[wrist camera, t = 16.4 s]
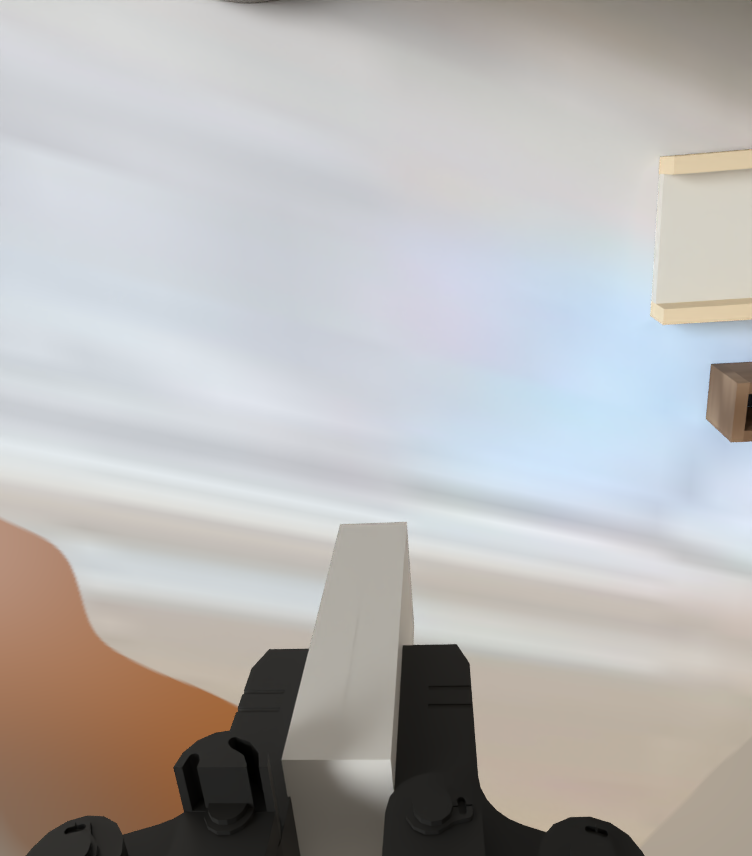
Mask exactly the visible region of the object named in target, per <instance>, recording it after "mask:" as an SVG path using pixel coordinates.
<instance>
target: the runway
mask: <svg viewBox="0 0 752 856" xmlns="http://www.w3.org/2000/svg"><path fill="white" fill-rule="evenodd" d="M650 316H651V317H653V318H654V319H655V320H657V321H658V322H660V323H661V324H663V325H669V324H686V323H702V322H718V321H735V320H751V319H752V149H746V150H734V151H723V152H711V153H699V154H687V155H675V156H663V157H660V166H659V182H658V198H657V215H656V231H655V247H654V264H653V280H652V296H651V313H650Z"/></svg>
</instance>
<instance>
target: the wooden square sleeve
mask: <svg viewBox="0 0 752 856" xmlns="http://www.w3.org/2000/svg"><path fill="white" fill-rule="evenodd" d="M749 394H752V362H741V363H723V364H711V371H710V381H709V391H708V402H707V412H706V419H707V420H708V421H709V422H710V423H711V424H712V425H713V426H714V427H715V428H716V429H717V430H718V431H719V432H721V433H722V434H723V435H724V436H725V437H726V438H727V439H728V440H729V441H730V442H748V441H752V407H747V404H748V395H749Z"/></svg>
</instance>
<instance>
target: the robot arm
mask: <svg viewBox="0 0 752 856" xmlns="http://www.w3.org/2000/svg"><path fill="white" fill-rule="evenodd" d="M224 1H230V2H242V3H253V2H265V1H271V0H224ZM413 637H414V617H413V603H412V589H411V576H410V562H409V548H408V535H407V522H394V523H366V524H340V527H339V531H338V535H337V539H336V543H335V547H334V551H333V555H332V559H331V563H330V567H329V571H328V575H327V579H326V583H325V587H324V591H323V595H322V599H321V603H320V607H319V611H318V615H317V619H316V623H315V627H314V631H313V635H312V639H311V643H310V647H309V649H269V650H268V651H267V652H266V653H265V655H264V656H263V657H262V658H261V659H260V660H259V661H258V662H257V663H256V664H255V665H254V667H253V668H252V669H251V672H250V675H249V678H248V681H247V683H246V686H245V689H244V694H243V695H242V698H241V700H240V703H239V706H238V712H237V713H236V715H235V718H234V720H233V723H232V726H231V729H230V731H224V732H218V733H214V734H212V735H209V736H207V737H205V738H203V739H200V740H198V741H197V742H195V743H194V744H193V745H192V746H191V747H189V748H188V749H187V750H186V751H185V752H183V753H182V755H181V757H180V758H179V760H178V761H177V763H176V764H175V766H174V772H175V776H176V780H177V784H178V788H179V793H180V797H181V801H182V805H183V809H184V813H182V814H181V815H179V816H177V817H176V818H174V819H172V820H169V821H167V822H164V823H162V824H159V825H155V826H152V827H149V828H145V829H141V830H138V831H134V832H131V833H128V834H124V835H122V833H121V831H120V829H119V827H118V825H117V823H115V822H113V821H111V820H110V819H108V818H106V817H104V816H103V817H102V816H84V817H81V818H77V819H74V820H70V821H67V822H66V823H64V824H62V825H60V826H59V827H57V828H55V829H54V830H52V831H50V832H49V833H48V834H47V835H45V836H44V837H43V838H42V839H41V840H40V841H39V842H38V843H37V844H36V845H35V846H34V847H33V848H32V849H31V850H30V851H29V853H28V854H27V855H26V856H644V854H643V852H642V851H641V850H640V849H639V847H638V846H637V845H636V844H635V842H634V841H633V840H632V839H631V837H630V836H629V835H628V834H626V833H625V832H623V831H622V830H620V829H619V828H617V827H616V826H614V825H613V824H611V823H609V822H606V821H602V820H599V819H596V818H592V817H570V818H567V819H565V820H563V821H560V822H558V823H556V824H553V826H552V827H551V828H550V829H549V830H548V831H547V832H544V831H540V830H537V829H534V828H531V827H528V826H524V825H522V824H519V823H517V822H515V821H513V820H510V819H508V818H507V817H505V816H504V815H503V814H501V813H500V812H498V811H497V810H496V809H495V808H494V807H493V806H492V805H491V804H490V803H489V801H488V800H487V799H486V797H485V795H484V793H483V791H482V790H481V787H480V783H479V778H478V769H477V756H476V743H475V730H474V717H473V704H472V691H471V677H470V664H469V662H468V660H467V659H466V658H465V656H464V655H463V653H462V652H461V650H460V649H459V647H458V646H457V644H448V645H413Z"/></svg>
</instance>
